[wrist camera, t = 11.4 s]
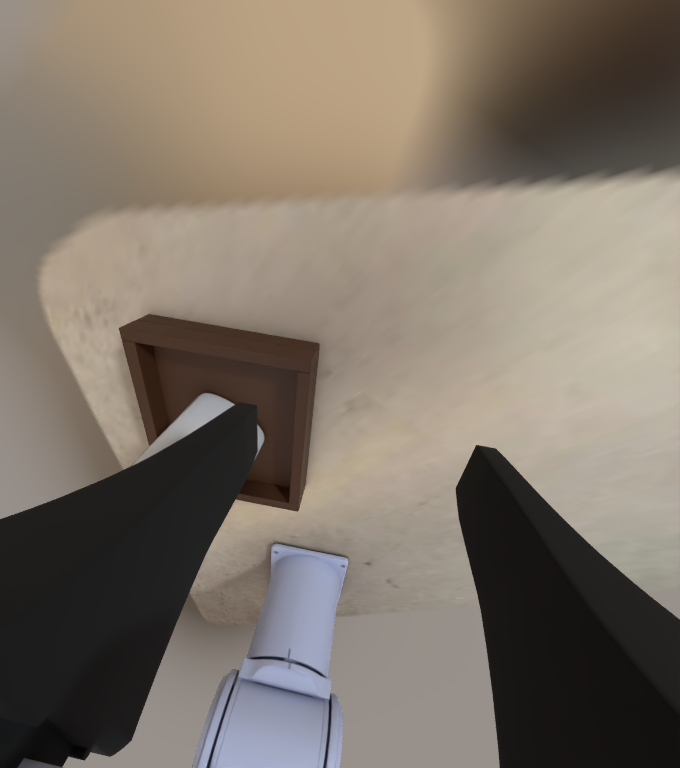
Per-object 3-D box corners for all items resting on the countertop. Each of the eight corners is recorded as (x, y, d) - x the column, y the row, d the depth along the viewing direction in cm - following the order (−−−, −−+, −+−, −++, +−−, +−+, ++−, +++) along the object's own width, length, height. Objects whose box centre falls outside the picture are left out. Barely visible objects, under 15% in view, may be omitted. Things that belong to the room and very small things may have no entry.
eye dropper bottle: (223, 453, 24) (105, 634, 14) (186, 395, 22) (10, 563, 12) (272, 444, 23) (182, 634, 13) (238, 382, 21) (94, 556, 11)
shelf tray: (305, 485, 27) (298, 512, 25) (178, 460, 27) (159, 484, 25) (320, 343, 20) (311, 361, 18) (148, 313, 20) (118, 327, 18)
